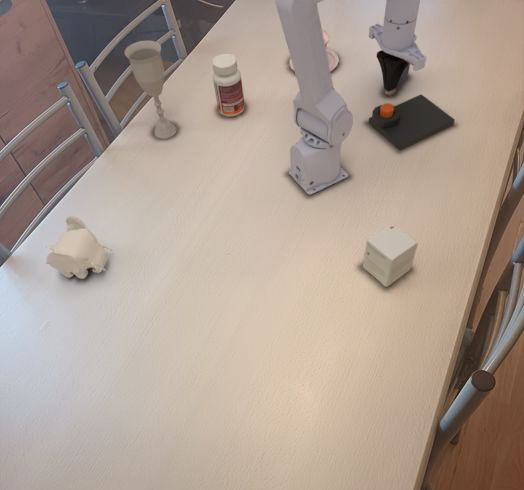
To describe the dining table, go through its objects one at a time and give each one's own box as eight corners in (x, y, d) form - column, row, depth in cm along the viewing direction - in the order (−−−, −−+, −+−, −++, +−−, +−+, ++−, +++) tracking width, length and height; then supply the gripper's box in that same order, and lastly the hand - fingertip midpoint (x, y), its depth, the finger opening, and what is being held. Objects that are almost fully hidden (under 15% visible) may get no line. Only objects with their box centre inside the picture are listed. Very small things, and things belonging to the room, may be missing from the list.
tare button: (384, 120, 105) (385, 113, 103) (376, 113, 106) (377, 106, 105) (395, 115, 105) (396, 108, 104) (387, 108, 106) (388, 101, 105)
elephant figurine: (107, 290, 91) (89, 258, 83) (48, 284, 93) (24, 252, 85) (124, 250, 95) (108, 217, 88) (67, 245, 97) (46, 211, 90)
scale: (398, 151, 103) (400, 139, 101) (366, 123, 109) (367, 110, 106) (453, 125, 106) (456, 112, 103) (419, 99, 111) (421, 86, 109)
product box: (361, 267, 89) (365, 239, 82) (386, 250, 90) (392, 221, 84) (386, 288, 86) (392, 260, 80) (411, 270, 88) (419, 241, 81)
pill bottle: (250, 108, 115) (245, 58, 105) (230, 121, 113) (223, 72, 103) (232, 97, 117) (225, 48, 107) (212, 110, 115) (204, 61, 105)
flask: (392, 98, 112) (399, 49, 103) (380, 94, 113) (386, 46, 104) (410, 76, 116) (418, 27, 107) (398, 73, 117) (406, 24, 108)
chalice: (183, 121, 114) (164, 39, 99) (178, 141, 111) (157, 59, 95) (153, 121, 115) (128, 41, 99) (146, 141, 112) (120, 60, 96)
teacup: (281, 58, 124) (279, 32, 118) (323, 43, 125) (324, 17, 120) (303, 83, 118) (303, 56, 112) (347, 67, 119) (349, 40, 114)
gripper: (445, 25, 86) (429, 98, 98) (393, -8, 93) (384, 64, 105) (412, 39, 85) (400, 112, 97) (362, 5, 92) (356, 76, 103)
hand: (390, 88), depth 101 cm, fingers closed
